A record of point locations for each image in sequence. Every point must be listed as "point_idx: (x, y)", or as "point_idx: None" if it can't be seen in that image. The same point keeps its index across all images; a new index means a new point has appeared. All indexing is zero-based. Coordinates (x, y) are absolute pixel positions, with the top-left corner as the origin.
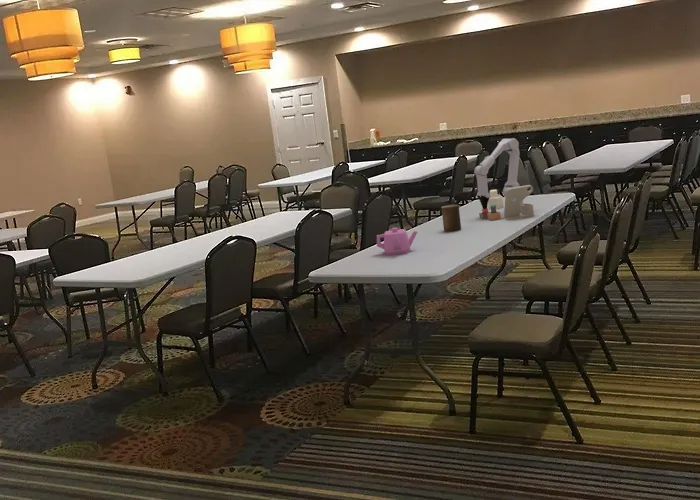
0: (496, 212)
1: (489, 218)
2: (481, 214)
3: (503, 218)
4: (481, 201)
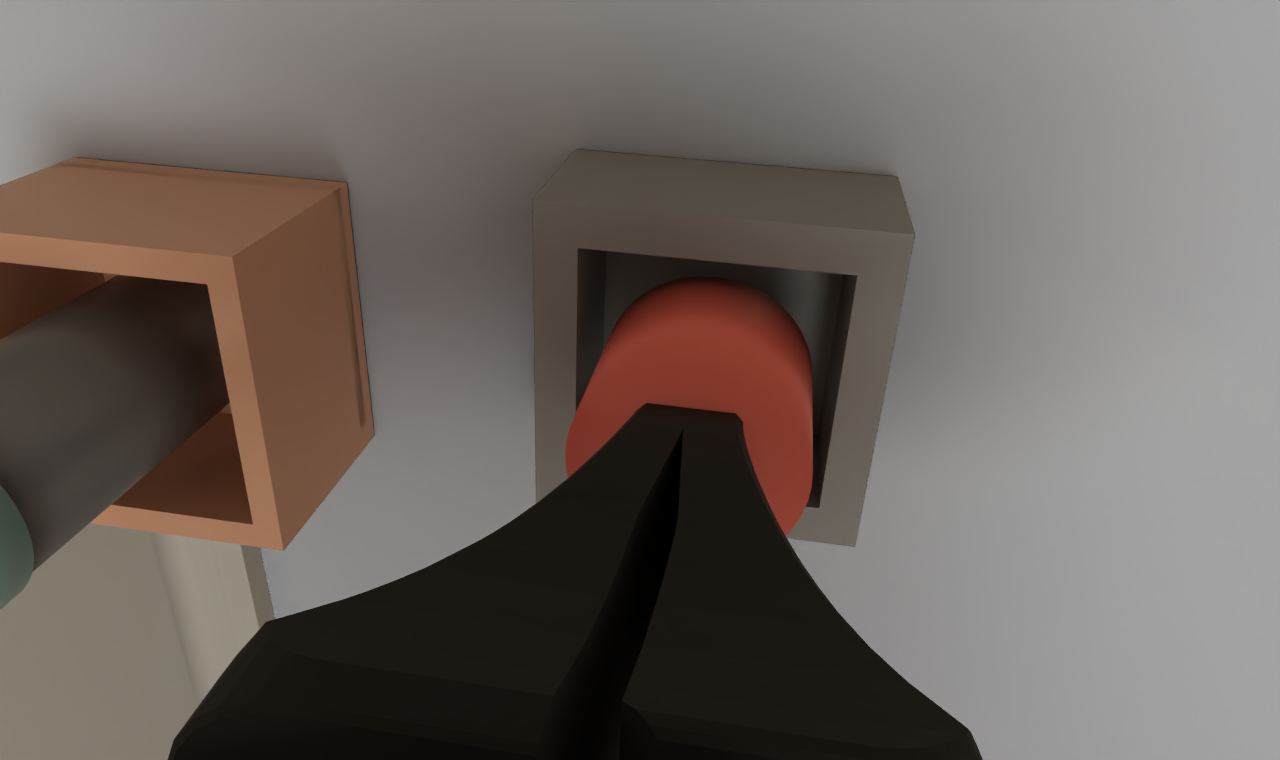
0: (218, 503)
1: (204, 186)
2: (682, 204)
3: None
4: (568, 577)
